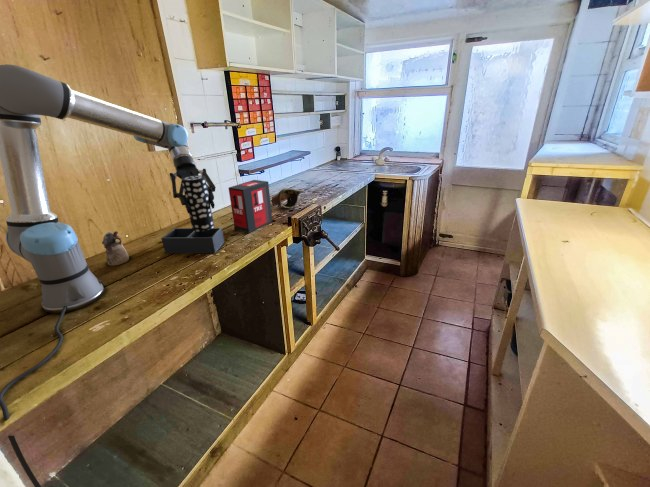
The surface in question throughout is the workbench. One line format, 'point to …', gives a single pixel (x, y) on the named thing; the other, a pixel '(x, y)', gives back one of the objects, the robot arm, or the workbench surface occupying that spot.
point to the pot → (286, 197)
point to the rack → (193, 240)
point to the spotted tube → (198, 202)
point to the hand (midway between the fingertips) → (201, 208)
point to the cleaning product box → (250, 205)
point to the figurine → (114, 249)
